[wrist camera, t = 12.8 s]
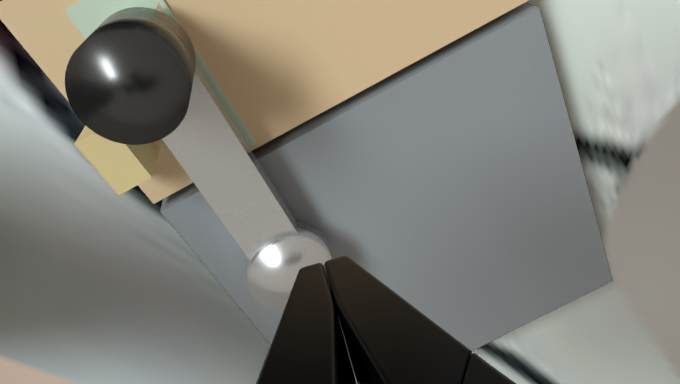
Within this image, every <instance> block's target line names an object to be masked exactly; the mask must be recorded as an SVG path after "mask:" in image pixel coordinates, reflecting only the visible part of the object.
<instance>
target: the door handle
mask: <svg viewBox="0 0 680 384" xmlns="http://www.w3.org/2000/svg"><path fill="white" fill-rule="evenodd" d="M65 90H66V94H67V98H68V100H69V103H70V105H71V107H72V109H73V111H74V112H75V114H76V115H77V117H78V118H79V119H80V120H81V121H82V122H83V123H84V124H85V125H86V126H87V127H88V128H89V129H90V130H92V131H93V132H95V133H96V134H98V135H100V136H101V137H103V138H106V139H108V140H110V141H114V142H117V143H121V144H128V145H142V144H148V143H152V142H155V141H158V140H160V139H162V140H163V141H164V143H165V144H166V145H167V147H168V148H169V149H170V151H171V152H172V154H173V155H174V156H175V158H176V159H177V160H178V162H179V163H180V165H181V166H182V167H183V169H184V170H185V172H186V173H187V174H188V176H189V177H190V178H191V180H192V181H193V183H194V184H195V185H196V187H197V188H198V189H199V191H200V192H201V194H202V195H203V196H204V198H205V199H206V201H207V202H208V203H209V205H210V206H211V207H212V209H213V210H214V212H215V213H216V214H217V216H218V217H219V218H220V220H221V221H222V223H223V224H224V225H225V227H226V228H227V230H228V231H229V232H230V234H231V235H232V236H233V238H234V239H235V241H236V242H237V243H238V245H239V246H240V247H241V249H242V250H243V252H244V253H245V254H246V262H247V280H248V287H249V290H250V292H251V294H252V295H253V297H254V298H255V299H256V300H257V301H258V302H259V303H261V304H262V305H264V306H266V307H268V308H270V309H273V310H278V311H284V308H285V306H286V303H287V300H288V298H289V295H290V293H291V290H292V287H293V285H294V282H295V279H296V277H297V274H298V271H299V270H300V269H301V268H303V267H306V266H310V265H313V264H317V263H322V264H323V265H324V263H325V262H326V261H327V260H330V259H332V257H331V254H330V250H329V247H328V243H327V241H326V239H325V237H324V235H323V234H322V233H321V232H320V231H319V230H318V229H317V228H316V227H314V226H313V225H311V224H309V223H306V222H303V221H298V220H295V219H294V217H293V215H292V214H291V212H290V211H289V209H288V207H287V206H286V204H285V203H284V201H283V199H282V198H281V196H280V195H279V193H278V192H277V190H276V188H275V187H274V185H273V184H272V182H271V180H270V179H269V177H268V176H267V174H266V172H265V171H264V169H263V168H262V166H261V164H260V163H259V161H258V160H257V158H256V157H255V155H254V153H253V152H252V150H251V149H250V147H249V145H248V144H247V142H246V141H245V139H244V137H243V136H242V134H241V133H240V131H239V129H238V128H237V126H236V125H235V123H234V121H233V120H232V118H231V117H230V115H229V114H228V112H227V110H226V109H225V107H224V106H223V104H222V102H221V101H220V99H219V98H218V96H217V94H216V93H215V91H214V90H213V88H212V86H211V85H210V83H209V82H208V80H207V79H206V77H205V75H204V74H203V72H202V71H201V69H200V67H199V66H198V64H197V63H196V56H195V51H194V47H193V44H192V42H191V40H190V38H189V36H188V34H187V33H186V31H185V30H184V29H183V28H182V27H181V25H180V24H179V23H177V22H176V21H175V20H174V19H173V18H171V17H170V16H168V15H166V13H165V12H164V10H163V8H162V7H161V5H160V4H159V3H158V4H156V5H154V6H152V7H151V8H145V7H131V8H126V9H122V10H120V11H117V12H115V13H113V14H112V15H110V16H109V17H108V18H107V19H105V20H104V21H103V22H102V23H101V24H100V25H99V26H98V27H97V28H96V29H95V30H94V31H93V33H92V34H91V35H90V36H89V37H88V38H87V39H86V40H85V41H84V42H83V43H82V44H81V45H80V46H79V47H78V48H77V49H76V50H75V52H74V53H73V54H72V56H71V58H70V59H69V62H68V65H67V68H66V72H65ZM324 268H325V267H324ZM325 271H326V270H325ZM326 275H327V274H326ZM328 282H329V281H328Z"/></svg>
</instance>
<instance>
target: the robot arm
mask: <svg viewBox="0 0 680 384" xmlns="http://www.w3.org/2000/svg"><path fill="white" fill-rule="evenodd" d="M324 267H325V268H324ZM325 270H326V271H325ZM326 274H327V275H326ZM328 281H329V282H328ZM340 324H341V325H340ZM342 331H343V332H342ZM343 335H344V336H343ZM345 342H346V343H345ZM346 346H347V347H346ZM347 349H348V350H347ZM348 353H349V354H348ZM349 356H350V357H349ZM350 360H351V361H350ZM351 363H352V365H351ZM352 367H353V368H352ZM353 371H354V372H353ZM354 374H355V376H354ZM355 377H356V380H357V383H358V384H516V383H515V382H513V381H512V380H510V379H509V378H508V377H506V376H505V375H503V374H502V373H501V372H499V371H498V370H496V369H495V368H494V367H492V366H491V365H490V364H488V363H487V362H486V361H484V360H483V359H482V358H481V357H479V356H478V355H477V354H475V353H473V354H472V351H471V350H470V349H468V348H467V347H466V346H465V345H463V344H462V343H461V342H459V341H458V340H457V339H455V338H454V337H453V336H451V335H450V334H449V333H448V332H446V331H445V330H444V329H442V328H441V327H440V326H438V325H437V324H436V323H434V322H433V321H432V320H430V319H429V318H428V317H427V316H425V315H424V314H423V313H421V312H420V311H419V310H417V309H416V308H415V307H413V306H412V305H411V304H410V303H408V302H407V301H406V300H404V299H403V298H402V297H400V296H399V295H398V294H396V293H395V292H394V291H393V290H391V289H390V288H389V287H387V286H386V285H385V284H383V283H382V282H381V281H379V280H378V279H377V278H375V277H374V276H373V275H372V274H370V273H369V272H368V271H366V270H365V269H364V268H362V267H361V266H360V265H358V264H357V263H356V262H355V261H353V260H352V259H351V258H349V257H348V256H341V257H337V258H334V259H330V260H327V261H326V262H325V263H324V265H323V264H322V263H317V264H313V265H310V266H306V267H303V268H301V269H300V270H299V271H298V274H297V277H296V279H295V282H294V285H293V287H292V290H291V293H290V295H289V298H288V300H287V303H286V306H285V308H284V311H283V314H282V316H281V319H280V322H279V324H278V327H277V330H276V332H275V335H274V338H273V340H272V343H271V346H270V348H269V351H268V354H267V356H266V359H265V361H264V364H263V367H262V369H261V372H260V375H259V377H258V380H257V383H256V384H356V380H355Z"/></svg>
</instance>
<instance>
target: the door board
mask: <svg viewBox="0 0 680 384" xmlns="http://www.w3.org/2000/svg"><path fill="white" fill-rule="evenodd" d="M527 1H529V0H2V1H1V2H0V19H1V21H2V22H3V23H4V24H5V25H6V27H7V28H8V29H9V30H10V31H11V33H12V34H13V35H14V36H15V37H16V39H17V40H18V41H19V42H20V44H21V45H22V46H23V47H24V48H25V50H26V51H27V52H28V53H29V54H30V56H31V57H32V58H33V59H34V60H35V62H36V63H37V64H38V65H39V66H40V68H41V69H42V70H43V71H44V72H45V74H46V75H47V76H48V77H49V79H50V80H51V81H52V82H53V83H54V85H55V86H56V87H57V88H58V89H59V91H60V92H61V93H62V94H63V95H64V97H65V98H66V99H67V100H68V98H67V94H66V90H65V72H66V68H67V65H68V62H69V59H70V58H71V56H72V54H73V53H74V52H75V50H76V49H77V48H78V47H79V46H80V45H81V44H82V43H83V42H84V41H85V40H86V39H87V38H88V37H89V36H90V35H91V34H92V33H93V31H94V30H95V29H96V28H97V27H98V26H99V25H100V24H101V23H102V22H103V21H104V20H105V19H107V18H108V17H109V16H110V15H112V14H113V13H115V12H117V11H120V10H122V9H126V8H131V7H145V8H151V7H152V6H154V5H156V4H158V3H159V4H160V5H161V7H162V8H163V10H164V12H165V13H166V15H168V16H170V17H171V18H173V19H174V20H175V21H176V22H177V23H179V24H180V25H181V27H182V28H183V29H184V30H185V31H186V33H187V34H188V36H189V38H190V40H191V42H192V44H193V47H194V51H195V56H196V63H197V64H198V66H199V67H200V69H201V71H202V72H203V74H204V75H205V77H206V79H207V80H208V82H209V83H210V85H211V86H212V88H213V90H214V91H215V93H216V94H217V96H218V98H219V99H220V101H221V102H222V104H223V106H224V107H225V109H226V110H227V112H228V114H229V115H230V117H231V118H232V120H233V121H234V123H235V125H236V126H237V128H238V129H239V131H240V133H241V134H242V136H243V137H244V139H245V141H246V142H247V144H248V145H249V147H250V149H251V150H252V152H253V153H254V155H255V157H256V158H257V160H258V161H259V163H260V164H261V166H262V168H263V169H264V171H265V172H266V174H267V176H268V177H269V179H270V180H271V182H272V184H273V185H274V187H275V188H276V190H277V192H278V193H279V195H280V196H281V198H282V199H283V201H284V203H285V204H286V206H287V207H288V209H289V211H290V212H291V214H292V215H293V217H294V219H295V220H298V221H303V222H306V223H309V224H311V225H313V226H314V227H316V228H317V229H318V230H319V231H320V232H321V233H322V234H323V235H324V237H325V239H326V241H327V243H328V247H329V250H330V254H331V257H332V259H334V258H337V257H341V256H348V257H349V258H351V259H352V260H353V261H355V262H356V263H357V264H358V265H360V266H361V267H362V268H364V269H365V270H366V271H368V272H369V273H370V274H372V275H373V276H374V277H375V278H377V279H378V280H379V281H381V282H382V283H383V284H385V285H386V286H387V287H389V288H390V289H391V290H393V291H394V292H395V293H396V294H398V295H399V296H400V297H402V298H403V299H404V300H406V301H407V302H408V303H410V304H411V305H412V306H413V307H415V308H416V309H417V310H419V311H420V312H421V313H423V314H424V315H425V316H427V317H428V318H429V319H430V320H432V321H433V322H434V323H436V324H437V325H438V326H440V327H441V328H442V329H444V330H445V331H446V332H448V333H449V334H450V335H451V336H453V337H454V338H455V339H457V340H458V341H459V342H461V343H462V344H463V345H465V346H466V347H467V348H468V349H470V350H471V351H473V350H475V349H477V348H479V347H481V346H483V345H485V344H487V343H489V342H491V341H493V340H495V339H497V338H499V337H501V336H503V335H505V334H507V333H509V332H511V331H513V330H515V329H517V328H519V327H521V326H523V325H525V324H527V323H529V322H531V321H533V320H535V319H537V318H539V317H541V316H543V315H545V314H547V313H549V312H551V311H553V310H555V309H557V308H559V307H561V306H563V305H565V304H567V303H569V302H571V301H573V300H575V299H577V298H579V297H581V296H583V295H585V294H587V293H589V292H591V291H593V290H596V289H598V288H600V287H602V286H604V285H606V284H608V283H610V282H612V281H613V279H612V275H611V271H610V268H609V264H608V260H607V257H606V253H605V249H604V245H603V242H602V238H601V234H600V231H599V227H598V223H597V220H596V216H595V212H594V208H593V205H592V201H591V197H590V194H589V190H588V186H587V183H586V179H585V175H584V171H583V168H582V164H581V160H580V157H579V153H578V149H577V146H576V142H575V138H574V135H573V131H572V127H571V123H570V120H569V116H568V112H567V109H566V105H565V101H564V98H563V94H562V90H561V86H560V83H559V79H558V75H557V72H556V68H555V64H554V61H553V57H552V53H551V49H550V46H549V42H548V38H547V35H546V31H545V27H544V24H543V20H542V16H541V13H540V9H539V7H537V6H534V5H531V4H528V3H525V2H527ZM68 101H69V100H68ZM74 145H75V146H76V147H77V148H78V149H79V150H80V152H81V153H82V154H83V155H84V156H85V157H86V159H87V160H88V161H89V162H90V163H91V164H92V165H93V167H94V168H95V169H96V170H97V171H98V172H99V174H100V175H101V176H102V177H103V178H104V179H105V181H106V182H107V183H108V184H109V185H110V186H111V187H112V189H113V190H114V191H115V192H116V193H117V194H118V196H119V195H120V194H122V193H124V192H126V191H128V190H130V189H131V188H133V187H135V186H137V185H138V186H139V187H140V188H141V190H142V191H143V192H144V193H145V194H146V196H147V197H148V198H149V199H150V200H151V202H152V203H153V204H155V203H156V202H158V201H160V200H162V199H163V202H162V206H161V211H160V212H161V214H162V215H163V216H164V217H165V219H166V220H167V221H168V222H169V223H170V225H171V226H172V227H173V228H174V229H175V231H176V232H177V233H178V234H179V235H180V237H181V238H182V239H183V240H184V241H185V243H186V244H187V245H188V246H189V247H190V249H191V250H192V251H193V252H194V254H195V255H196V256H197V257H198V258H199V260H200V261H201V262H202V263H203V264H204V266H205V267H206V268H207V269H208V270H209V272H210V273H211V274H212V275H213V276H214V278H215V279H216V280H217V281H218V282H219V284H220V285H221V286H222V287H223V289H224V290H225V291H226V292H227V293H228V295H229V296H230V297H231V298H232V299H233V301H234V302H235V303H236V304H237V305H238V307H239V308H240V309H241V310H242V311H243V313H244V314H245V315H246V316H247V317H248V319H249V320H250V321H251V322H252V324H253V325H254V326H255V327H256V328H257V330H258V331H259V332H260V333H261V334H262V336H263V337H264V338H265V339H266V340H267V342H268V343H269V344H270V345H271V343H272V340H273V338H274V335H275V332H276V330H277V327H278V324H279V322H280V319H281V316H282V314H283V311H278V310H273V309H270V308H268V307H266V306H264V305H262V304H261V303H259V302H258V301H257V300H256V299H255V298H254V297H253V295H252V294H251V292H250V290H249V287H248V280H247V262H246V254H245V253H244V252H243V250H242V249H241V247H240V246H239V245H238V243H237V242H236V241H235V239H234V238H233V236H232V235H231V234H230V232H229V231H228V230H227V228H226V227H225V225H224V224H223V223H222V221H221V220H220V218H219V217H218V216H217V214H216V213H215V212H214V210H213V209H212V207H211V206H210V205H209V203H208V202H207V201H206V199H205V198H204V196H203V195H202V194H201V192H200V191H199V189H198V188H197V187H196V185H195V184H194V183H193V181H192V180H191V178H190V177H189V176H188V174H187V173H186V172H185V170H184V169H183V167H182V166H181V165H180V163H179V162H178V160H177V159H176V158H175V156H174V155H173V154H172V152H171V151H170V149H169V148H168V147H167V145H166V144H165V143H164V141H163V140H162V139H160V140H158V141H155V142H152V143H148V144H142V145H128V144H121V143H117V142H114V141H110V140H108V139H106V138H103V137H101V136H100V135H98V134H96V133H95V132H93V131H92V130H90V129H89V128H88V127H87V126H85V127H84V129H83V131H82V132H81V134H80V135H79V137H78V139H77V140H76V142H75V144H74ZM340 325H341V324H340ZM342 332H343V331H342ZM343 336H344V335H343ZM345 343H346V342H345ZM346 347H347V346H346ZM347 350H348V349H347ZM348 354H349V353H348ZM349 357H350V356H349ZM350 361H351V360H350ZM351 365H352V363H351ZM352 368H353V367H352ZM353 372H354V371H353ZM354 376H355V374H354ZM355 380H356V377H355ZM356 384H358V383H357V380H356Z"/></svg>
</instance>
